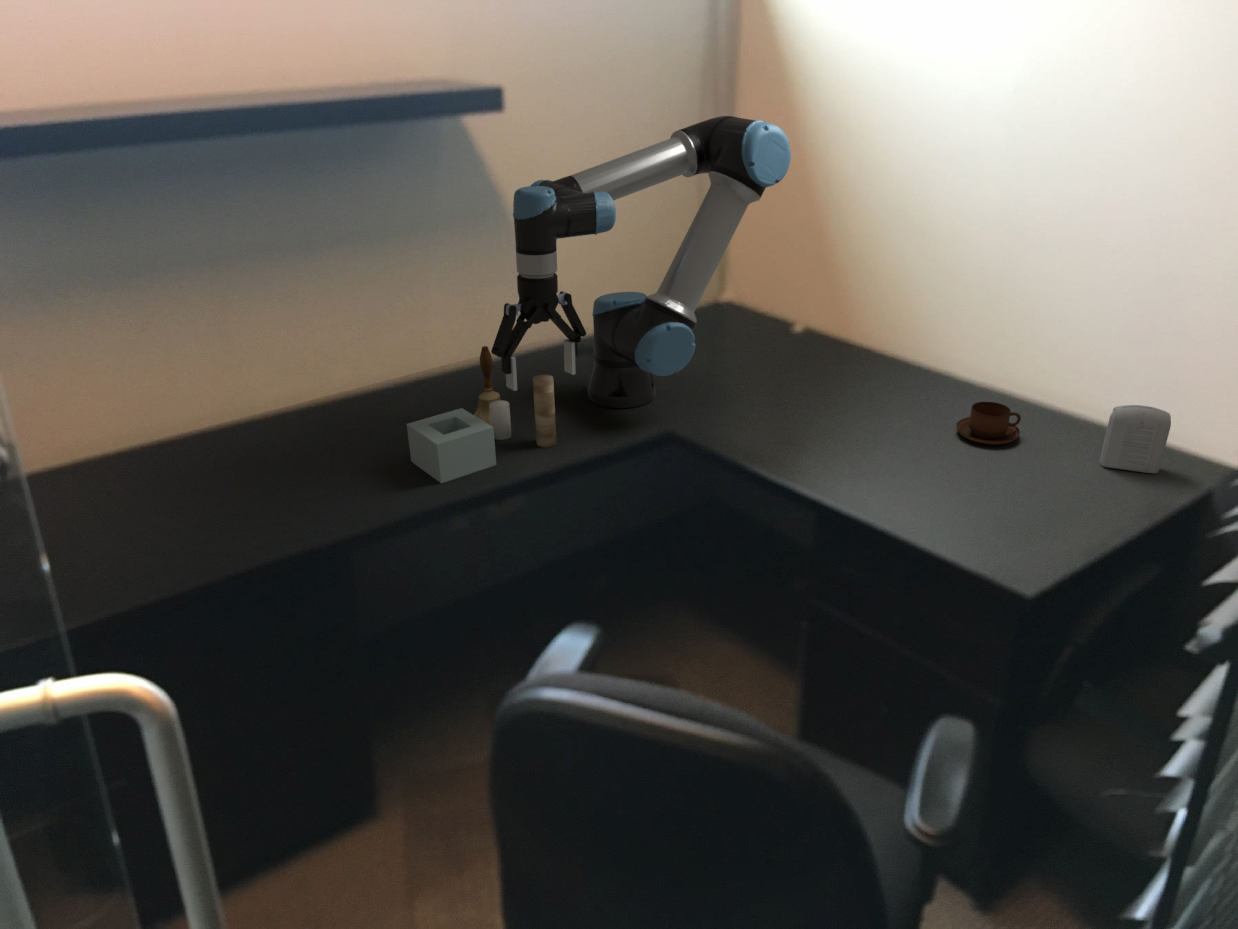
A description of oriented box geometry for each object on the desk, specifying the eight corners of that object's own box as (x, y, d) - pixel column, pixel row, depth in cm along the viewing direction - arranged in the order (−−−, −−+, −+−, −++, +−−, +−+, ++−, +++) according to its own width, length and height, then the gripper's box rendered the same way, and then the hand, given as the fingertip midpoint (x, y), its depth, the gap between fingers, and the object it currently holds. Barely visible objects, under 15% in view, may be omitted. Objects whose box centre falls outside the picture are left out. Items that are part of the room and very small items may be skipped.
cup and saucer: (991, 421, 207) (996, 393, 204) (1031, 444, 197) (1036, 415, 194) (942, 430, 203) (946, 402, 201) (981, 454, 193) (985, 424, 191)
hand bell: (463, 422, 211) (457, 350, 204) (486, 408, 217) (480, 338, 210) (496, 429, 207) (490, 356, 200) (518, 414, 214) (513, 344, 207)
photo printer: (1157, 466, 187) (1172, 405, 181) (1160, 476, 183) (1176, 414, 178) (1097, 458, 190) (1111, 398, 185) (1099, 468, 187) (1113, 407, 181)
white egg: (504, 429, 207) (502, 398, 204) (515, 436, 204) (512, 404, 201) (488, 435, 205) (485, 403, 201) (498, 441, 202) (496, 409, 199)
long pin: (549, 437, 203) (545, 372, 197) (560, 443, 200) (557, 378, 194) (532, 442, 201) (528, 377, 195) (543, 449, 198) (540, 383, 192)
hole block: (465, 444, 201) (461, 407, 197) (496, 465, 192) (493, 427, 188) (411, 461, 194) (406, 423, 190) (441, 483, 185) (437, 444, 182)
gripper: (579, 258, 195) (582, 361, 204) (468, 280, 181) (476, 389, 190) (602, 266, 189) (604, 371, 198) (489, 289, 175) (496, 401, 185)
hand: (541, 380), depth 194 cm, fingers open, 13 cm apart
